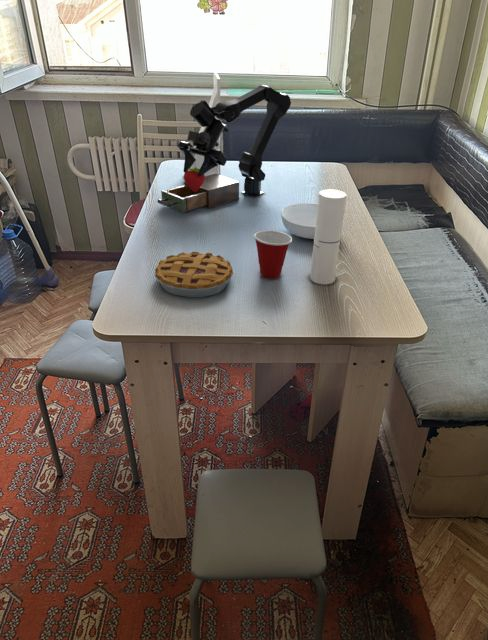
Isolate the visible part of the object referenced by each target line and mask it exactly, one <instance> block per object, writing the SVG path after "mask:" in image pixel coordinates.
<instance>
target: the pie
mask: <svg viewBox="0 0 488 640" xmlns="http://www.w3.org/2000/svg"><path fill="white" fill-rule="evenodd" d="M233 269H234V268H233V266H232V265H231V262H230V261H229V260H226V259H225V258H224V257H223V256H222V255H220V254H218V255H214V254H213V252H206V253H201V252H198V251H192V252H190V253H186V252H180V253H178V254H177V255H173V254H171V255H167V257H166V259H162V260H160V261H159V262H158V265H156V267H155V270H154V278H155V279H156V280H157V281H158V282H159V284H160V285H161V286H162V288H163V289H164V291H166V292H167V293H169V294H173V295H174V296H181V297H188V298H202V297H203V298H204V297H209V296H213V295H217V294H219V293H220V292H221V291H223V290H224V289H225V287H226V286H227V284H228V283H229V282H230V281H231V279H232V277H233V275H234V274H235V273H234V270H233Z"/></svg>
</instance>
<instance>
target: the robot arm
mask: <svg viewBox="0 0 488 640" xmlns="http://www.w3.org/2000/svg"><path fill="white" fill-rule="evenodd" d="M262 101H265V102H266V115H265V116H264V119H263V121H262V124H261V126H260V128H259V130H258V132H257V134H256V136H255V138H254V141H253V143H252V145H251V148H250V149H249V150H248V151H247V152H246V151H243V152H242V154H241V156H240V158H239V160H238V162H239V163H238V170H239V172H240V174H241V176H242V177H244V182H243V190H242V191H241V194H243V195H246V196H248V197H252V198H254V197H257V196H261V195H263V194H264V192H263V191H261V190H262V181H265V179H266V173H265V172H264V171H263V170H262V165H263V155H264V152H265V150H266V148H267V145H268V143H269V141H270V139H271V137H272V135H273V133H274V131H275V129H276V126H277V124H278V122H279V120H280V119H281V118H283V117H284V116H286V114H287V113H288V111H289V109H290V107H291V105H292V101H291V97H290V96H289V95H288V94H286V93H282V92H279V91H277V90H275V89H274V88H272V87H271V86H269V85H265V84H260V85H258V86H257V87H255V88H253V89H251V90H250V91H248V92H246V93H244V94H242V95H241V96H239V97H237V98H234V99H229V100H227V99H226V100H224V101H220V103H218V104H217V105H216V106H215V107H212V108H211V107H210V106H209V102H207V101H206V100H204V99H201V100H200V101H199V102H197V103H195V104H194V105H193V106H192V107H191V108H190V111H189V115H190V117H192V119H194V121H195V122H196V123H197V124H198V125H199V126H200V128H201V127H205V126H206V128H205V130H204V132H200V133H199V131H198V132H197V131H194V130H188V134H187V139H186V140H187V141H183V140H181V141H179V143H178V145H177V146H176V147H177V148H178V149H179V151H180V152H181V153H182V155H184V164H183V174H184V173H185V172H186V171H188V170H187V169H188V168H189V169H190V167H191V166H192V165H193V163H194V162H195V161H196V159H195V158H194V156H195V154H197V155H201V156H204V162H203V164H202V166H201V168H200V170H199V172H198V176H199V177H200V176H202V175H203V174H204V173H206V172H207V171H209V170H210V169H212V168H214V167H215V166H218V165H220V166H223V167H225V165H226V163H227V160H228V159H227V156H226V155H225V154H224V153H223V151H222V150H221V149H220V150H217V149H214V147H215V146H217V147H218V145H219V144H218V143H217V141H218V139H219V137H220V138H221V135H222V134H223V133H229V128H228V124H229V123H230V124H231V123H233V122H234V121H235V120H237V119H238V118H239V117H240V116H241V114H242V113H243V112H244V111H246V110H247V109H250V108H252V107H253V106H255V105H257V104H259V103H260V102H262ZM215 117H217V118H218V119H219V120H217V119H216V118H215ZM222 121H223V122H226V123H228V124H226V123H223V122H222ZM191 142H192V144H191ZM194 146H196V148H194ZM217 163H218V164H217Z"/></svg>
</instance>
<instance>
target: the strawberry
mask: <svg viewBox="0 0 488 640" xmlns="http://www.w3.org/2000/svg"><path fill="white" fill-rule="evenodd" d="M195 166H196V165H195ZM187 170H190V171H186V172H185V173H184V172H183V179H184V182H186V183H187V185H188V186H189V187H190V188H191V189H192V191H193V192H197V191H198V189H199V188H200V187H201V186H202V184H203V183H204V180H205V175H204V174H203V175H202V176H200V177H199V176H198V172H199V170H200V169H198V168H197V167H195V168H194V169H189V168H188V169H187Z"/></svg>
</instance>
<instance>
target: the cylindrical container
mask: <svg viewBox="0 0 488 640" xmlns="http://www.w3.org/2000/svg"><path fill="white" fill-rule="evenodd" d="M346 201H347V193H346V192H345V191H342V190H339V189H335V188H334V189H333V188H328V189H322V190H319V193H318V201H317V204H318V210H317V219H316V228H315V237H314V239H313V247H312V248H313V249H312V257H311V265H310V273H309V274H310V275H309V279H310V280H311V282H313V283H315V284H319V285H330V284H333V283H334V282H335V281H336V273H337V266H338V259H339V252H340V244H341V236H342V231H343V222H344V217H345V209H346Z"/></svg>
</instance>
